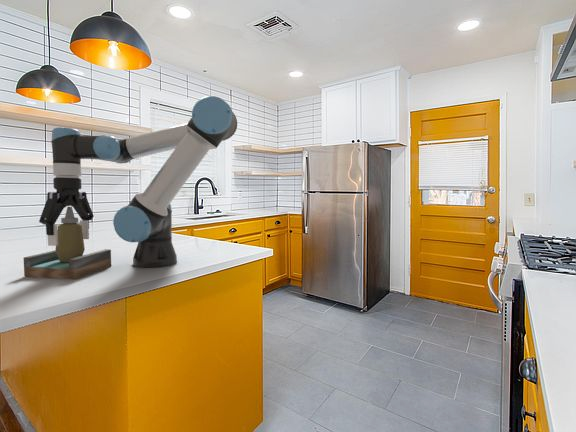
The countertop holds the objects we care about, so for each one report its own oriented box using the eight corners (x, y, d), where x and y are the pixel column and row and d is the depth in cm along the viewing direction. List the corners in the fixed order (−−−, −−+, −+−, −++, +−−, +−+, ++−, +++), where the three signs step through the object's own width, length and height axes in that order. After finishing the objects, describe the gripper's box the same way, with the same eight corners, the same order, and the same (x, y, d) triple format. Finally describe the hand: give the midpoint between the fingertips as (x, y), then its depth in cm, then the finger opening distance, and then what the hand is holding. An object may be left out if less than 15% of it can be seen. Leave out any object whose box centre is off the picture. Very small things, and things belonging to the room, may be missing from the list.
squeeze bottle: (70, 264, 103) (69, 207, 102) (49, 262, 105) (47, 206, 104) (90, 259, 111) (89, 206, 110) (70, 258, 113) (69, 206, 112)
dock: (111, 266, 116) (110, 249, 116) (75, 279, 99) (74, 259, 99) (66, 264, 118) (66, 247, 117) (24, 276, 101) (23, 257, 100)
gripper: (84, 178, 119) (86, 236, 120) (21, 175, 94) (25, 248, 96) (103, 178, 118) (105, 237, 120) (46, 175, 93) (49, 249, 95)
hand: (69, 242), depth 108 cm, fingers open, 13 cm apart
